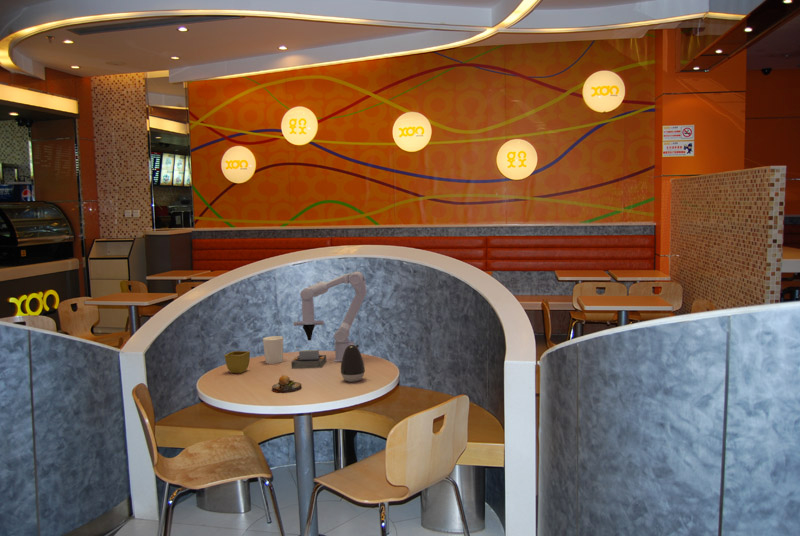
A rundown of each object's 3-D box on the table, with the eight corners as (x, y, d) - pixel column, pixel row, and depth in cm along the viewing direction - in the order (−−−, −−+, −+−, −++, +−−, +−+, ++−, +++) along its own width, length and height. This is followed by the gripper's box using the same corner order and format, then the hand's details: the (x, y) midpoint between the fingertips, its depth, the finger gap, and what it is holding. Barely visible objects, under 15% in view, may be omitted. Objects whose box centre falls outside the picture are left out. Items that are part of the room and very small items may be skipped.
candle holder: (260, 364, 299) (259, 339, 299) (270, 359, 309) (269, 336, 308) (278, 364, 297) (277, 340, 296) (288, 360, 306) (286, 336, 305)
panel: (319, 362, 295) (318, 349, 294) (318, 363, 293) (317, 350, 292) (300, 362, 295) (299, 350, 294) (299, 363, 293) (299, 351, 292)
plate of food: (307, 389, 251) (306, 371, 250) (282, 395, 243) (281, 376, 242) (290, 384, 259) (289, 366, 259) (266, 390, 251) (265, 372, 251)
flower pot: (224, 374, 281) (223, 354, 281) (234, 369, 290) (233, 350, 289) (242, 374, 279) (241, 355, 278) (251, 370, 288) (250, 351, 287)
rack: (326, 361, 300) (326, 354, 300) (321, 367, 287) (321, 360, 286) (298, 361, 301) (297, 355, 301) (291, 368, 287) (291, 361, 287)
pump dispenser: (369, 378, 263) (368, 343, 262) (357, 384, 254) (355, 347, 253) (349, 376, 268) (347, 341, 267) (336, 382, 258) (334, 346, 257)
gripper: (324, 310, 304) (325, 338, 305) (295, 311, 304) (296, 338, 305) (321, 312, 297) (323, 340, 298) (292, 313, 297) (293, 341, 298)
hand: (309, 340), depth 301 cm, fingers closed
